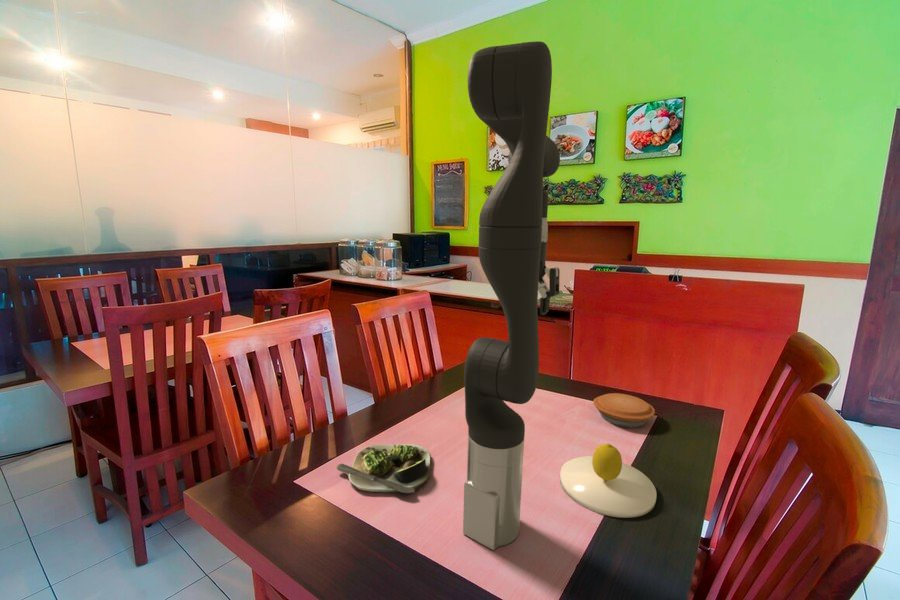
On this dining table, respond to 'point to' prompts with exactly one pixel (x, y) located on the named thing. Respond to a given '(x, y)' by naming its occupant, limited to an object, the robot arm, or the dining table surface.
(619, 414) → the pie
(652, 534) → the dining table surface
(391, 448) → the salad plate
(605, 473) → the lemon
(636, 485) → the saucer
